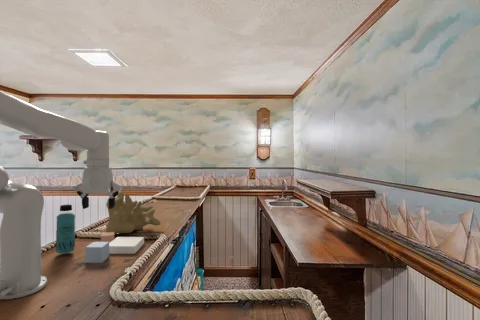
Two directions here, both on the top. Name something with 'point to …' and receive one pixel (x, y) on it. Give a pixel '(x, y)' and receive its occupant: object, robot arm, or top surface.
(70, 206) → the beverage bottle
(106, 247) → the grey-blue cube
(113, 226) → the decorative coral
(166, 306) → the top surface
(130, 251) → the pedestal
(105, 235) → the terracotta block
